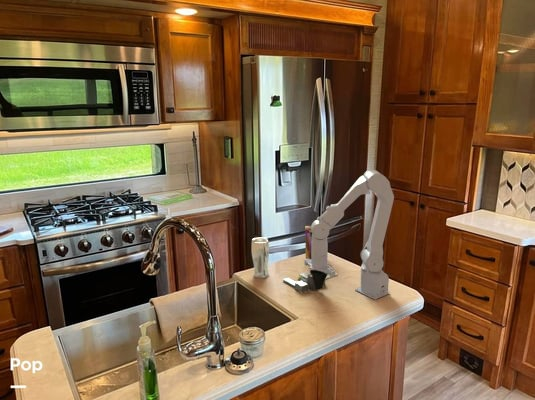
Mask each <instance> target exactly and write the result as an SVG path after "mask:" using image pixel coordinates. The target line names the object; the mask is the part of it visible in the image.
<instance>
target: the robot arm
mask: <svg viewBox="0 0 535 400" xmlns="http://www.w3.org/2000/svg"><path fill="white" fill-rule="evenodd" d="M370 191H372V193H374V195H375V196H376V197H377V201H376V207H375V210H374V213H373V214H374V215H373V218H372V223H371V226H370V232H369V236H368V239H367V241H366V243H365V246H364V248H362V250H361V251H360V258H361V261H362V264H361V266H360V286H359V287H356V288H355V291H356V292H358V293H360V294H363V295H365V296H366V297H369V298H371V299H373V300H377V299H379V298H383V297H384V296H386V295H389V294H390V291H389V282H390V281H389V279H390V277H389V275H388V274H387V273H385V272H384V270H383V267H384V258H383V257H384V247H383V245H384V241H385V238H386V232H387V229H388V225H389V220H390V216H391V212H392V208H393V204H394V200H395V195H394V192H393V190H392V187H391V182H390V181H389V180H388V178H387V177H386V176H384V174H382V173H380V172H379V171H378V170H376V169H368V170H366V171H365V172H364V173H363V175H361V176H359V178H358V179H357V180H356V181H355V182H354V184H353V185H352V186H351V187H350V188H349V189H348V190H347V192H346V193H345V194H344V196H343V197H342V198H341V199H340V200H339V201H338V202H337V203H334V204H330V205H327V206H326V208H325V211H324V212H323V213H322V214H321V215H320V216H317V218H316V220H314V221H313V222H311V225H310V226H311V231H312V242H311V259H306V258H305V259H304V261H303V262H304V263H303V264H304V265H305V266H309V270H310V271H309V274H311V275H312V277H313V279H314V282H315V286H316V289H317V290H316V291H319V290H322V289H323V286H324V285H323V284H324V281H325V282H326V280H327V279H326V277H327V275H329V276H330V277H331V278H334V277H336V276H335V273H336V270H335V269H333V268H332V267H331V266H330V265H329V264H328V252H329V251H328V249H329V248H328V245H329V243H328V236H329V235H330V230H332V229H333V228H334V227H335V226H336V224H337V223H338V222H339V221H340V220H341V219H342V218H344V216H345V210H346V209H347V208H349V206H350V205H352V204H353V203H354V202H355V201H356V200H357V199H358V198H359V197H360V196H361V195H367V194H370Z"/></svg>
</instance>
